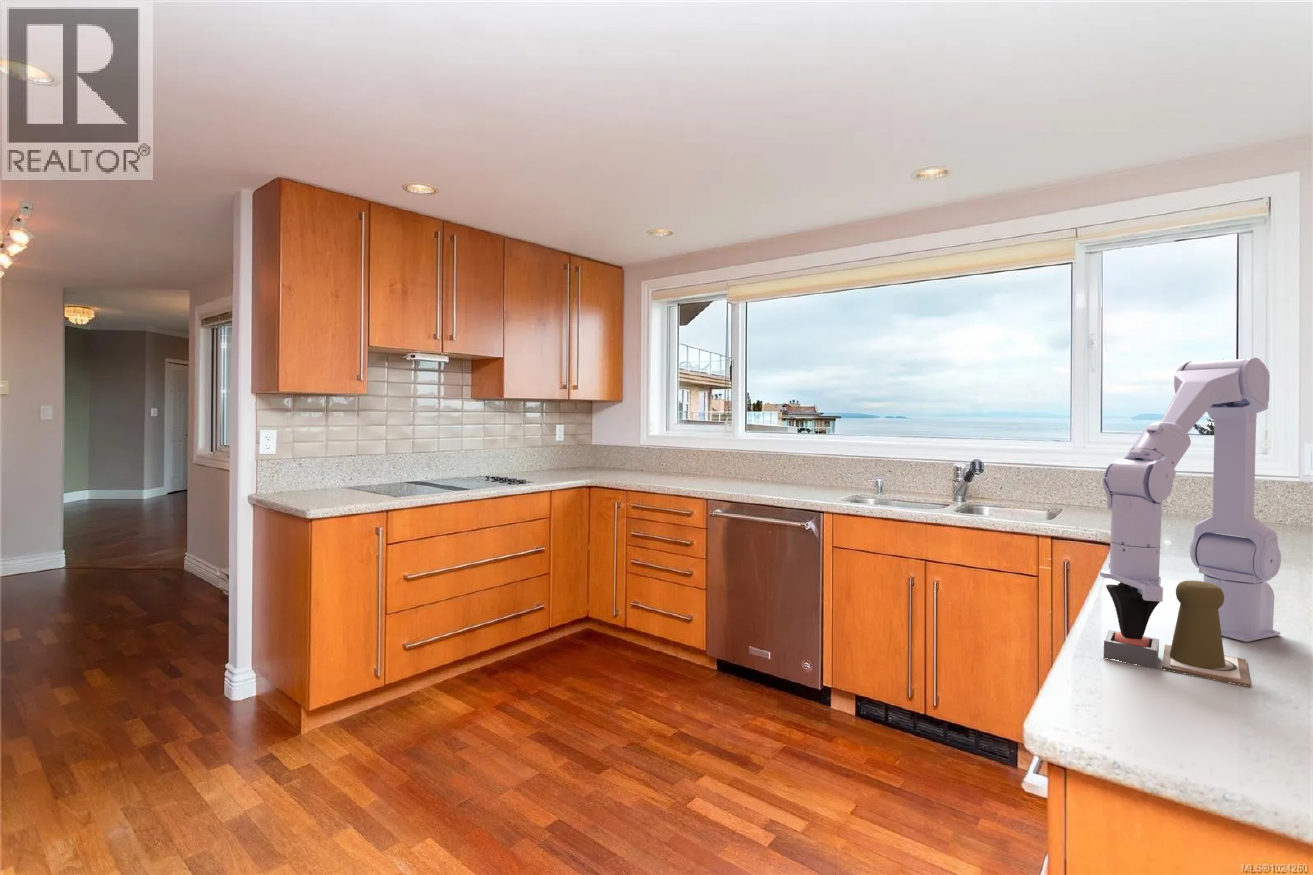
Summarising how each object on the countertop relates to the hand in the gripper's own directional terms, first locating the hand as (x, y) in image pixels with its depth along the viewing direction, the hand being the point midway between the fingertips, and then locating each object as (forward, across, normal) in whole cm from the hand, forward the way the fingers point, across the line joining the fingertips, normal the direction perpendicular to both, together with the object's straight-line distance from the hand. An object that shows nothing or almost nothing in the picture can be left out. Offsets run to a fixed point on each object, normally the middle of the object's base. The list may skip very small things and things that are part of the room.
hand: (1131, 637), depth 93 cm
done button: (+2, 0, 0) cm, 2 cm away
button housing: (+3, 0, 0) cm, 3 cm away
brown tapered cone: (+2, 0, +8) cm, 8 cm away
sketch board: (+3, 0, +9) cm, 9 cm away
